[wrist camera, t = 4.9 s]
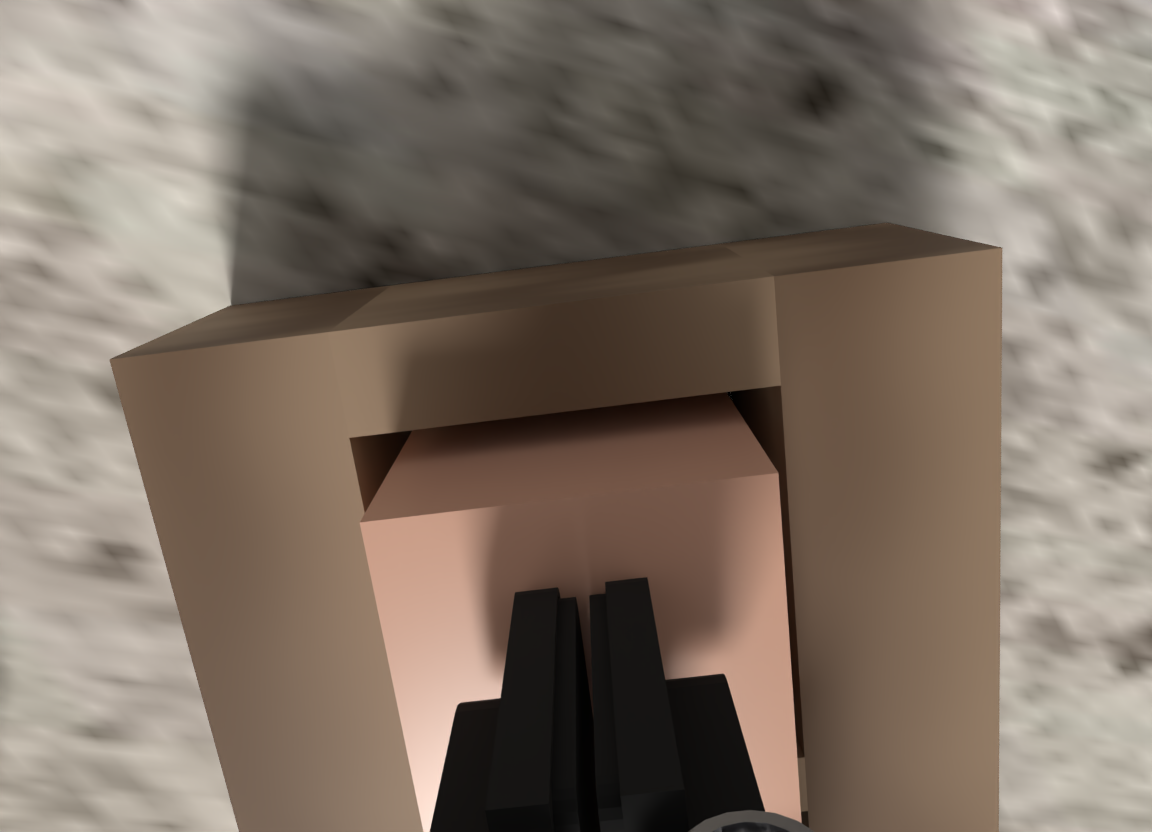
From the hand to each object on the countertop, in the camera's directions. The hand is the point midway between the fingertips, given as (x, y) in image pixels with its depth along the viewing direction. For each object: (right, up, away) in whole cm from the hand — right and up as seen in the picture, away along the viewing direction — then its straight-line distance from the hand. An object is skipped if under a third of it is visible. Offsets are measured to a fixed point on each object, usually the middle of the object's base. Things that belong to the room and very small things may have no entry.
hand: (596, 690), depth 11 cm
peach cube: (0, +2, +5) cm, 5 cm away
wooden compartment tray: (+1, -5, +8) cm, 10 cm away
